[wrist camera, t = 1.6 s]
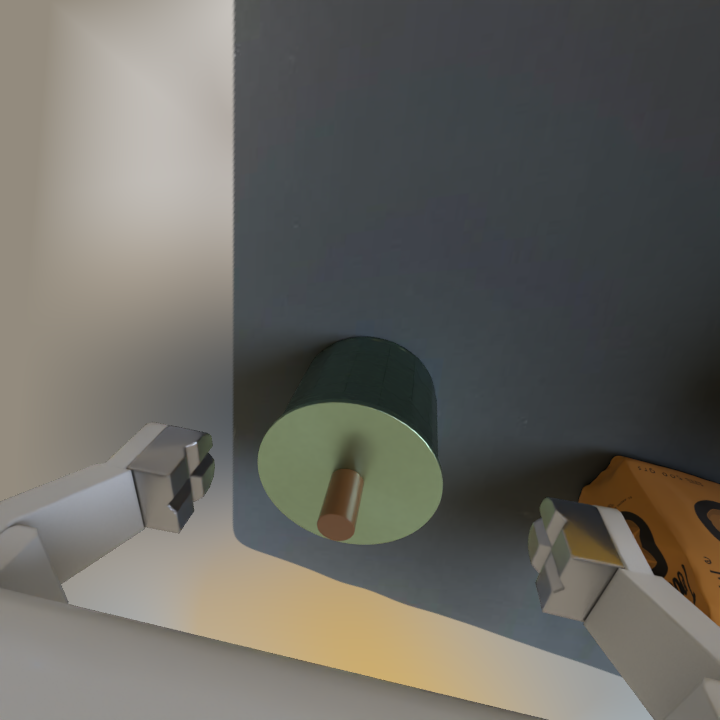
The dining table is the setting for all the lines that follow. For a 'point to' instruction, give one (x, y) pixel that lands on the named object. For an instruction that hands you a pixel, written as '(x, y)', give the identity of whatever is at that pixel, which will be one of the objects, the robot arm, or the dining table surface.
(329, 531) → the tin lid
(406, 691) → the robot arm
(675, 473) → the coffee package
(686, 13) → the dining table surface
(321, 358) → the bowl
